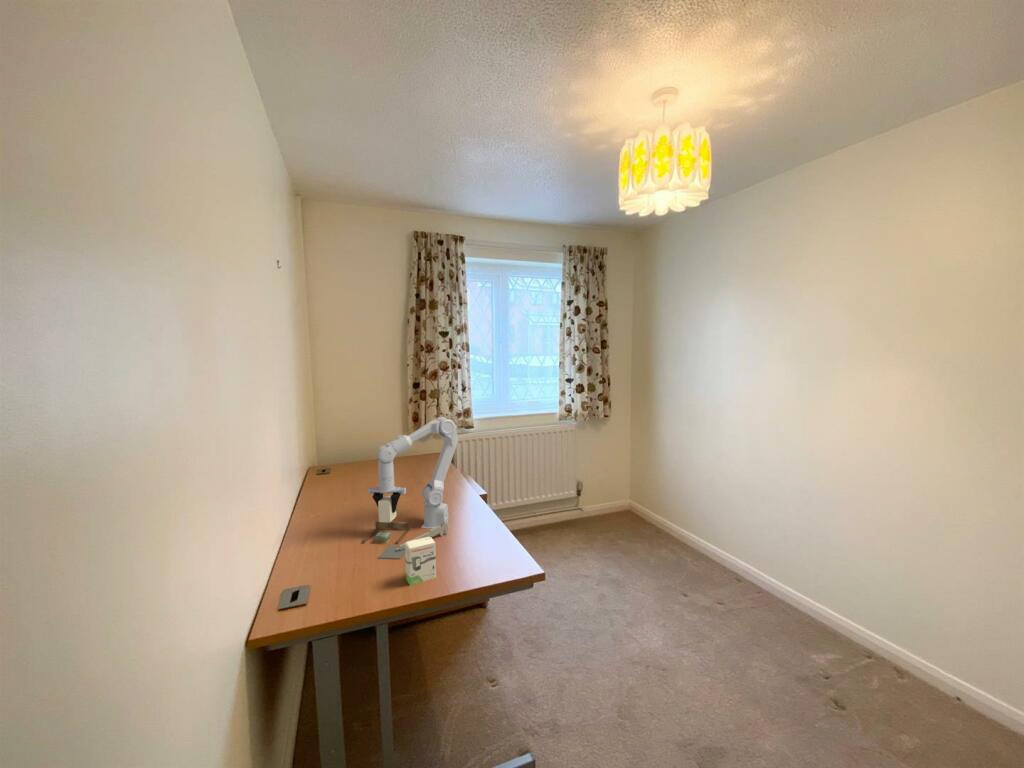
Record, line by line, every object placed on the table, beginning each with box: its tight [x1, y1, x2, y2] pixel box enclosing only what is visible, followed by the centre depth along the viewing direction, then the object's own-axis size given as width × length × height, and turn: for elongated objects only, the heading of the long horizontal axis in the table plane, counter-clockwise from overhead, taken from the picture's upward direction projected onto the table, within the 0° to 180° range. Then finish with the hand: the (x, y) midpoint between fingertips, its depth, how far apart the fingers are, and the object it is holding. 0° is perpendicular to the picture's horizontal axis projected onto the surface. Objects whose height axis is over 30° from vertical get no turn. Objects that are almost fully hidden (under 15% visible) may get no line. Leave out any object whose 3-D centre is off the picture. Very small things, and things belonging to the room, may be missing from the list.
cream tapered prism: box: [377, 495, 397, 522], centre depth 156 cm, size 4×6×8 cm
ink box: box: [404, 536, 437, 586], centre depth 126 cm, size 9×5×12 cm, turn 119°
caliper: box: [396, 521, 449, 550], centre depth 149 cm, size 20×1×6 cm, turn 129°
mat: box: [377, 545, 405, 560], centre depth 142 cm, size 8×9×1 cm
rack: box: [361, 521, 411, 545], centre depth 155 cm, size 14×12×4 cm
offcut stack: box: [374, 531, 391, 545], centre depth 151 cm, size 5×4×4 cm
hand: (387, 511), depth 156 cm, fingers closed on cream tapered prism, 5 cm apart
